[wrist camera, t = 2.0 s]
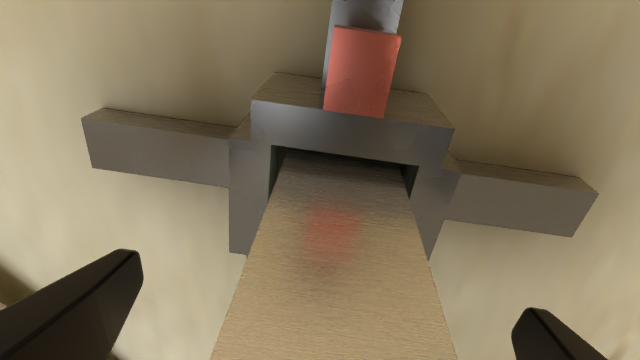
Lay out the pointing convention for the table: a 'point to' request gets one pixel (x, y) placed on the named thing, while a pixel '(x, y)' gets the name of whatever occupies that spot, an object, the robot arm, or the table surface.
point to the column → (336, 270)
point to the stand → (340, 141)
